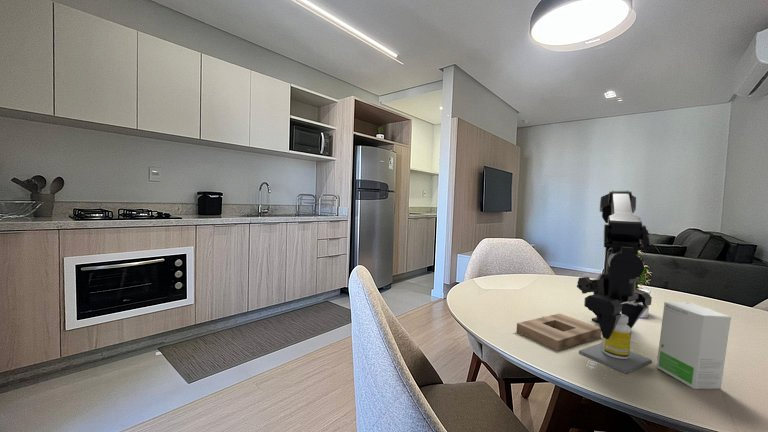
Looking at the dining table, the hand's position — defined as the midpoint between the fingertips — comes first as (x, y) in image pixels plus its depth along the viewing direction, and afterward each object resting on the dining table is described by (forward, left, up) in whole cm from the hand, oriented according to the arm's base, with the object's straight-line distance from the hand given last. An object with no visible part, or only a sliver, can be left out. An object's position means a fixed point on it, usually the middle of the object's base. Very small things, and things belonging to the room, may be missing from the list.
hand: (616, 335), depth 73 cm
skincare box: (-5, +12, -6) cm, 14 cm away
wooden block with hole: (0, -14, -6) cm, 15 cm away
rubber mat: (0, 0, -6) cm, 6 cm away
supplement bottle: (0, 0, -5) cm, 5 cm away
